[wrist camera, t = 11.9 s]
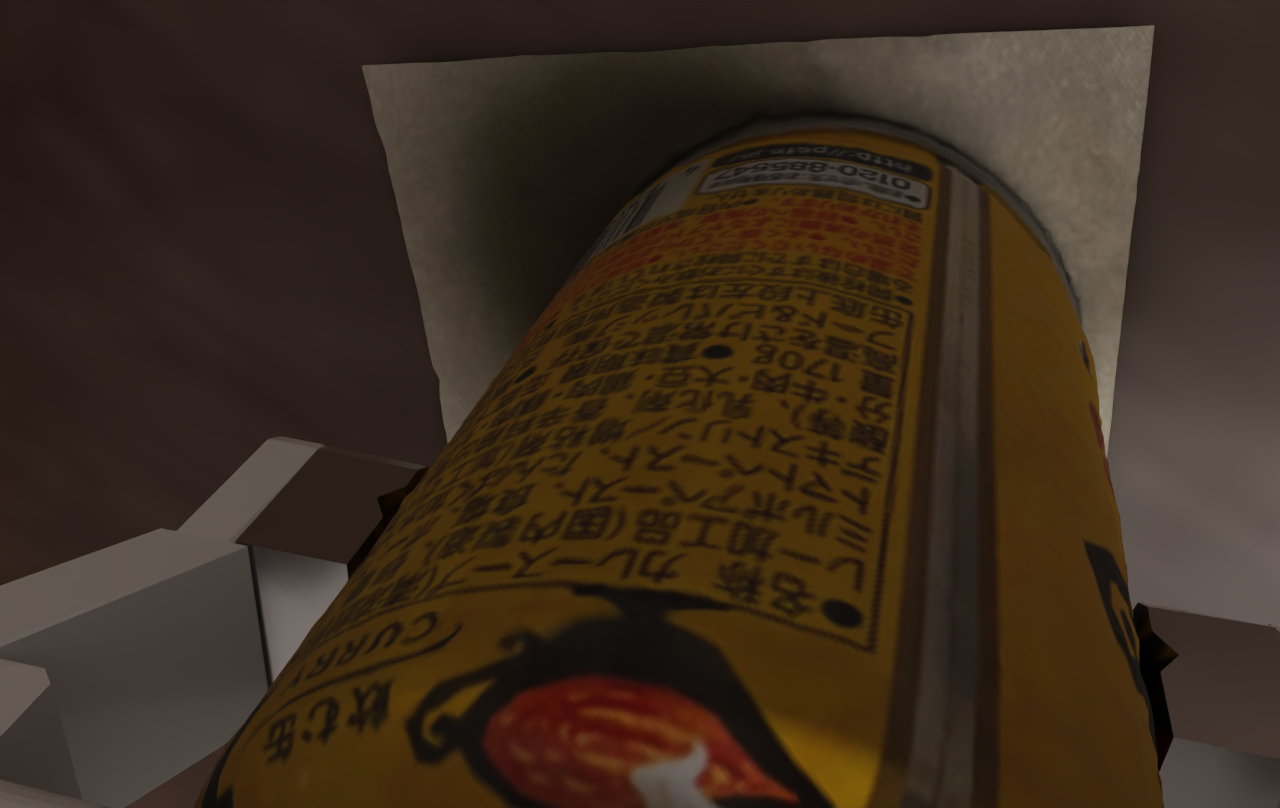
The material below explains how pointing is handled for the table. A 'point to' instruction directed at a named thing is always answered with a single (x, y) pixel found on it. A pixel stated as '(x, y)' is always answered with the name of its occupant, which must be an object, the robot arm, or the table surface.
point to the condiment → (748, 440)
